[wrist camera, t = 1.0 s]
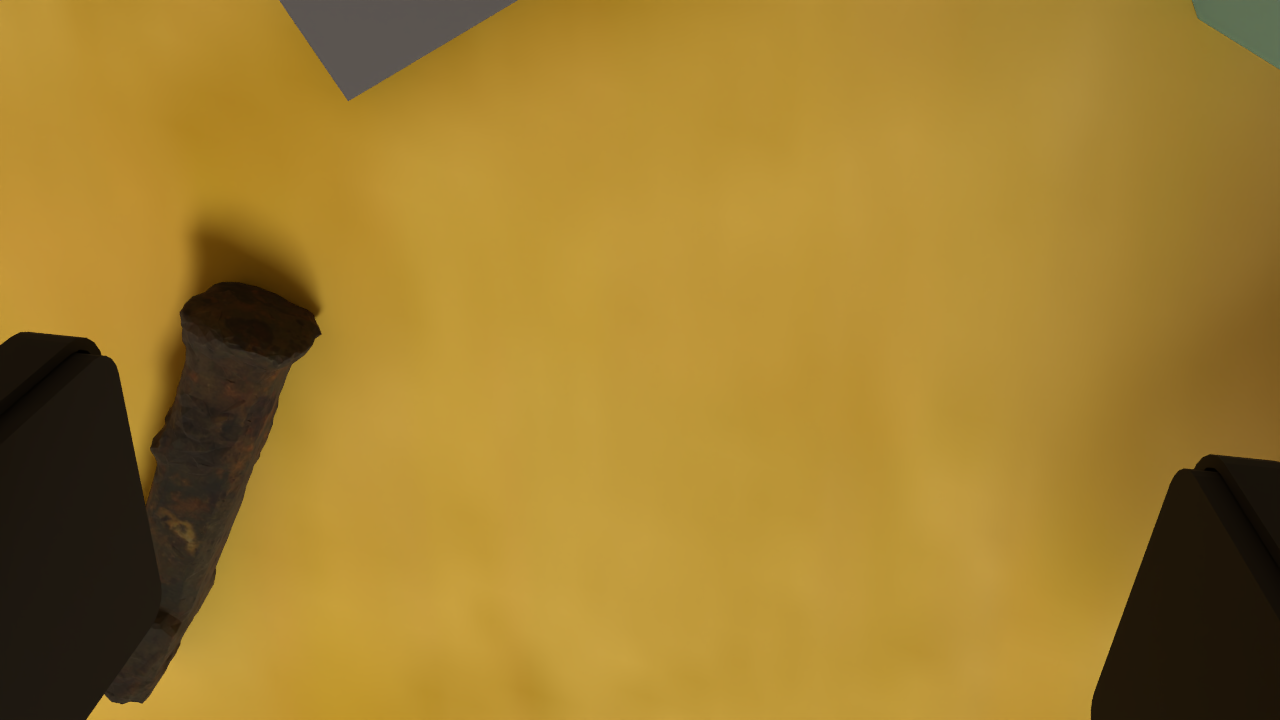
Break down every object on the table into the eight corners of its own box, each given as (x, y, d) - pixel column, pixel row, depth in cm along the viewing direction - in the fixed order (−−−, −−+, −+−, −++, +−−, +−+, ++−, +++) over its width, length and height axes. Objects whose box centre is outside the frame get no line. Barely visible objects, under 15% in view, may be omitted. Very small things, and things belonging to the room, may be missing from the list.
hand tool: (225, 257, 37) (159, 320, 33) (335, 311, 38) (282, 378, 34) (101, 616, 46) (37, 699, 42) (191, 654, 47) (136, 740, 43)
